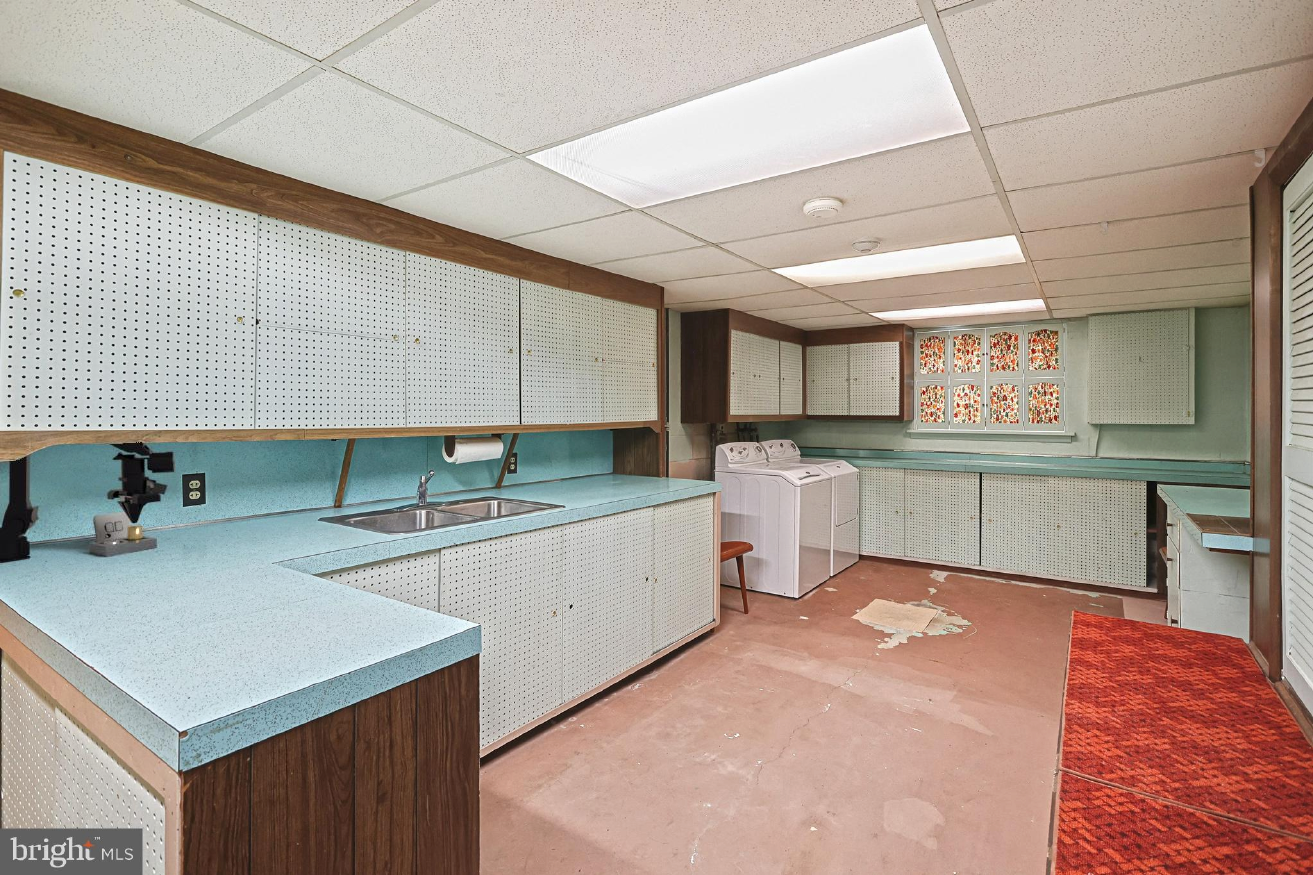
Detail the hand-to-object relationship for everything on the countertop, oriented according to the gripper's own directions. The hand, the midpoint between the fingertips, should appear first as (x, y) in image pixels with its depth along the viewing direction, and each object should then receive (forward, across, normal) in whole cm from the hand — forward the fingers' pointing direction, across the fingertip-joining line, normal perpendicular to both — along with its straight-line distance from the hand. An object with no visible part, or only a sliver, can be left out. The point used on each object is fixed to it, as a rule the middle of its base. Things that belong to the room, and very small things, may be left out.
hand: (134, 523), depth 194 cm
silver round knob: (+8, 0, +6) cm, 10 cm away
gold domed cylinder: (+8, 0, 0) cm, 8 cm away
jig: (+8, 0, +3) cm, 9 cm away
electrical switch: (+8, +19, -2) cm, 21 cm away
